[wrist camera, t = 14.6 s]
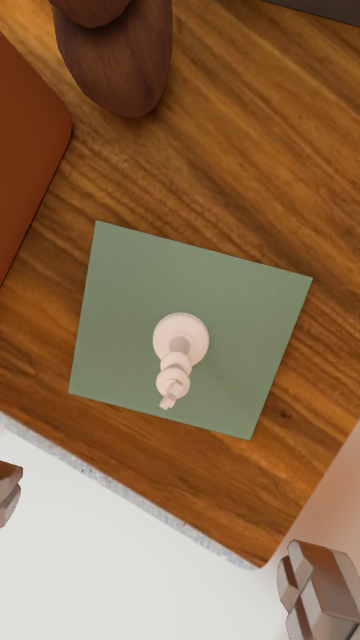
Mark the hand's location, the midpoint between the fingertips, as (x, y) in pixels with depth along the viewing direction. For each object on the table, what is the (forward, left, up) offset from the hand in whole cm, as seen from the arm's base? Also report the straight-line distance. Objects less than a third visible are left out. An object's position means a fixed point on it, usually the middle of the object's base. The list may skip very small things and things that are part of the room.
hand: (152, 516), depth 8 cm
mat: (0, 0, -17) cm, 17 cm away
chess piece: (0, 0, -16) cm, 16 cm away
